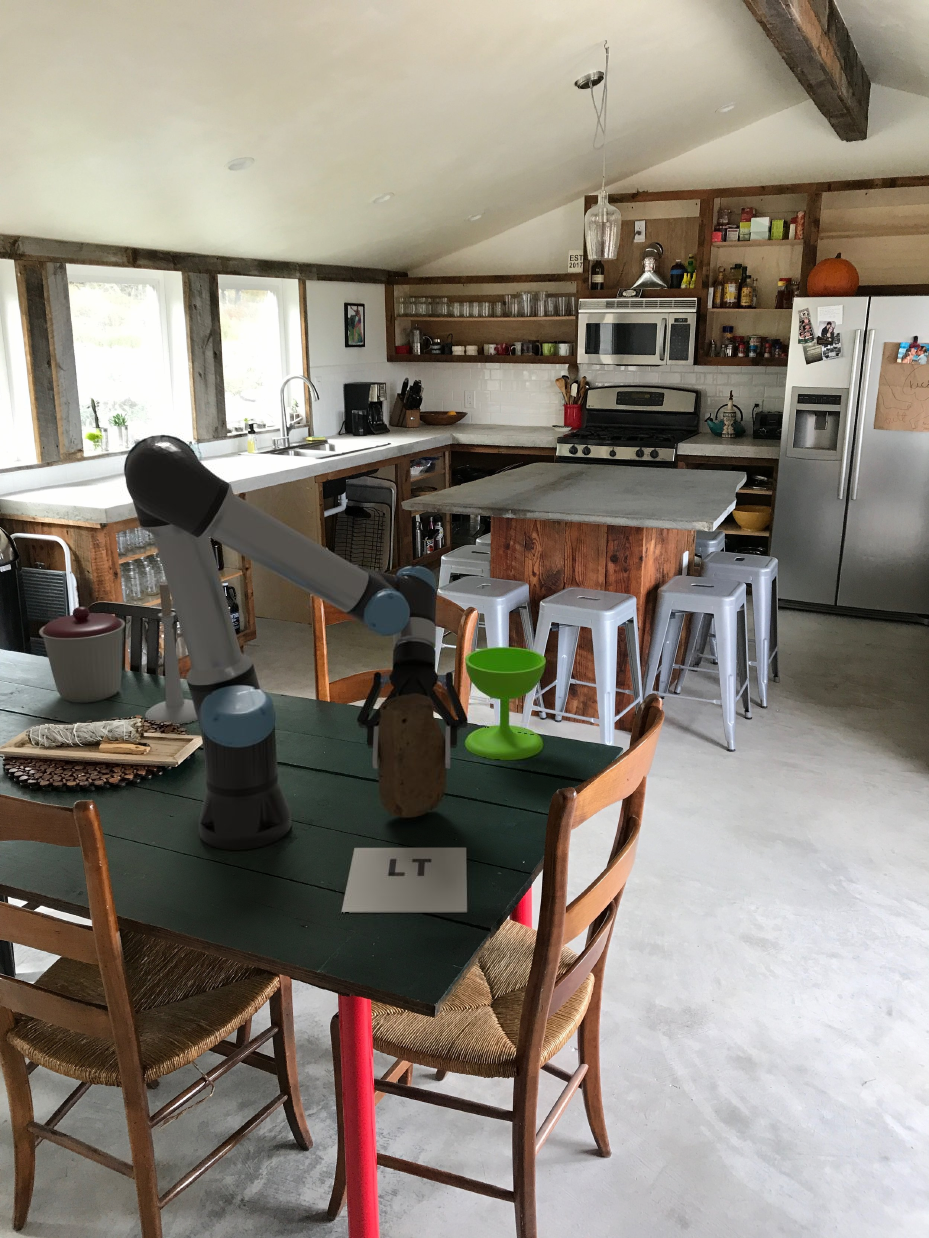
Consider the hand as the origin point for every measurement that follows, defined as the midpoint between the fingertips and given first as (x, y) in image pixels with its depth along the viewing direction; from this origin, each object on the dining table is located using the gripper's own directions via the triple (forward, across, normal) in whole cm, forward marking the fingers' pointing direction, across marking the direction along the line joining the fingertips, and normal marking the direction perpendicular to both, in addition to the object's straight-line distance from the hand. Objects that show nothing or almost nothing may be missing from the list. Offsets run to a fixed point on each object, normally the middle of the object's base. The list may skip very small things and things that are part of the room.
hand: (411, 765), depth 162 cm
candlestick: (-27, +54, -43) cm, 74 cm away
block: (+5, 0, -8) cm, 10 cm away
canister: (-36, +77, -52) cm, 99 cm away
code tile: (+20, 0, +5) cm, 20 cm away
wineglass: (-16, -17, -32) cm, 39 cm away
